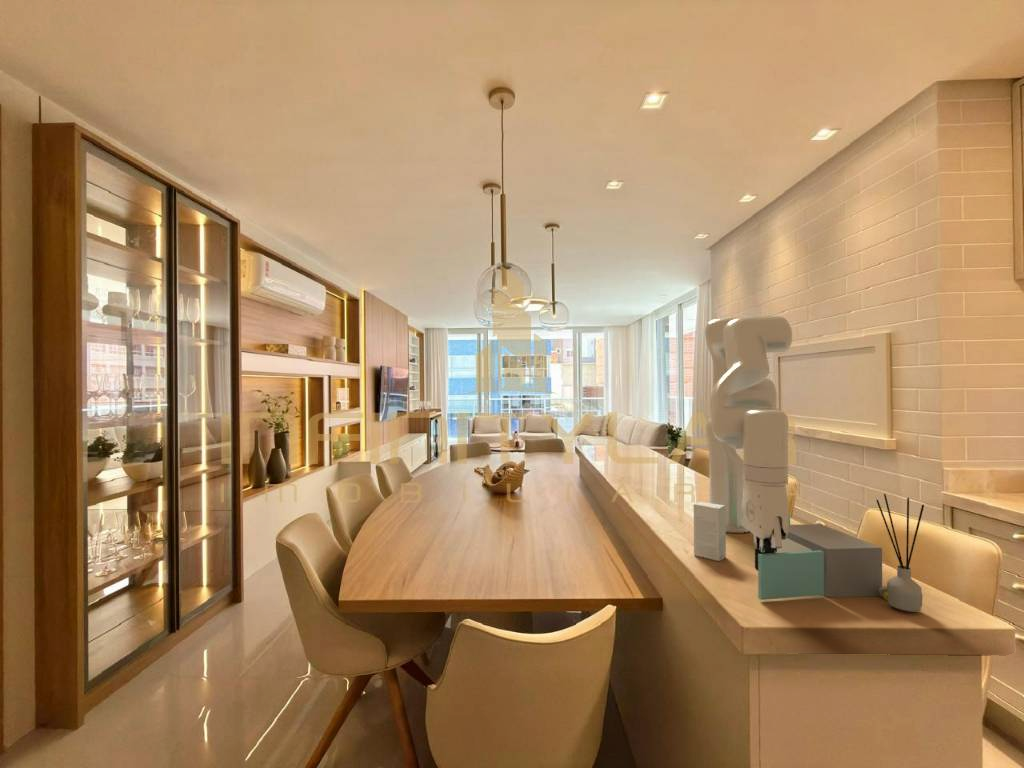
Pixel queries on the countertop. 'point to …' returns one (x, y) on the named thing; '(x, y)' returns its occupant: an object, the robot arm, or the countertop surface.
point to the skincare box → (709, 531)
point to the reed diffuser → (902, 574)
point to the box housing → (839, 559)
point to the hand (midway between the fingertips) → (765, 570)
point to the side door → (790, 574)
